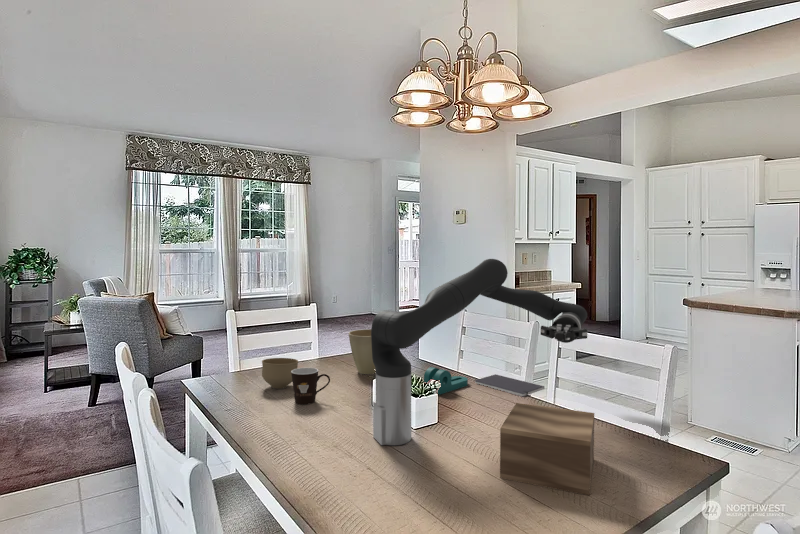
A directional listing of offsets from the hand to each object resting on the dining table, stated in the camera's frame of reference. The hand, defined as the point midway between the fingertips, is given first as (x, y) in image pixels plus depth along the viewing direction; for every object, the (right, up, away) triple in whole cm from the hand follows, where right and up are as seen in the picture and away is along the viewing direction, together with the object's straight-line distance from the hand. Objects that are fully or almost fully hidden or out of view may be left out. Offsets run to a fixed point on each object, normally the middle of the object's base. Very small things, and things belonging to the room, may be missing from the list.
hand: (560, 337), depth 125 cm
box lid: (-8, -17, -17) cm, 25 cm away
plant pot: (-54, -24, +66) cm, 89 cm away
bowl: (-84, -25, +46) cm, 99 cm away
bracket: (-25, -25, +45) cm, 57 cm away
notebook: (-3, -25, +47) cm, 53 cm away
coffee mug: (-71, -25, +30) cm, 81 cm away
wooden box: (-8, -27, -17) cm, 33 cm away
